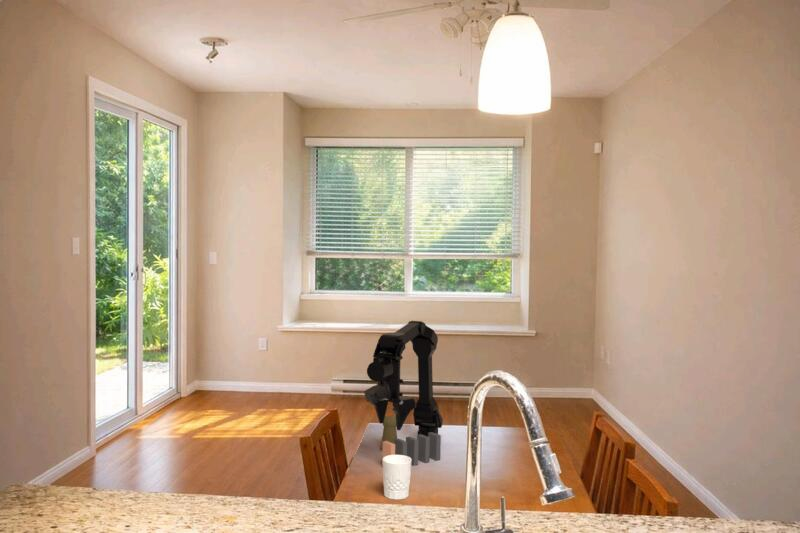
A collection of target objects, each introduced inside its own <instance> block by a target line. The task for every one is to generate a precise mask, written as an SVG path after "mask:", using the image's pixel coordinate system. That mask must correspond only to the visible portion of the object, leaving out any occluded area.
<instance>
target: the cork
mask: <svg viewBox="0 0 800 533" xmlns="http://www.w3.org/2000/svg"><path fill="white" fill-rule="evenodd" d="M382 425H383V429H382V430H383V431H382V436H381V442H380V450H381V451H382V450H383V441H389V442H391V443H393V444H394V439H398V430H397V427H396V416H393V415H385V418H384V421H383V423H382Z"/></svg>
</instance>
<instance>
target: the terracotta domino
mask: <svg viewBox="0 0 800 533" xmlns="http://www.w3.org/2000/svg"><path fill="white" fill-rule="evenodd" d="M381 452H382V455H381V457H382V459H381V460H382V461H381V463H382V464H381V465H382V466H381V467H382V468H381V469H383V458H384V457H385V456H388V455H395V444H393V443H391V442H389V441H383V450H381Z"/></svg>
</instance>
